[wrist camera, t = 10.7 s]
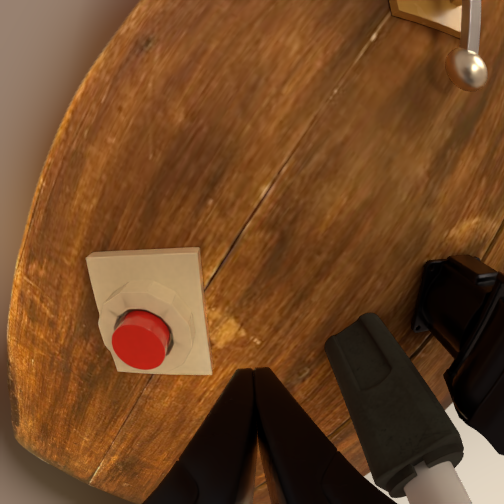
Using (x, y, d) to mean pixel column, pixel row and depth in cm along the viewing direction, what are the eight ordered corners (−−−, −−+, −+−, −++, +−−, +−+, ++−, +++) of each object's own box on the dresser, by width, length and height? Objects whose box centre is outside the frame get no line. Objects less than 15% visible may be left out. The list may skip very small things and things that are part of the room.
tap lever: (465, 88, 15) (492, 102, 13) (434, 79, 15) (461, 91, 13) (470, -52, 7) (497, -53, 4) (437, -70, 6) (463, -75, 4)
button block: (213, 365, 23) (210, 391, 20) (121, 362, 23) (111, 385, 20) (199, 246, 20) (193, 263, 17) (92, 251, 19) (73, 267, 16)
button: (174, 355, 19) (170, 371, 18) (126, 353, 19) (119, 368, 17) (165, 310, 18) (159, 324, 16) (114, 309, 18) (105, 323, 16)
